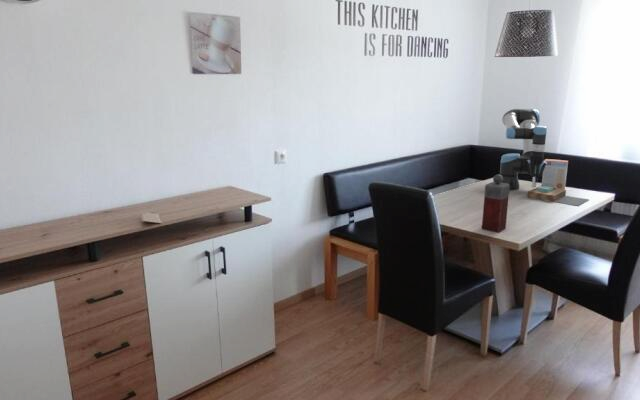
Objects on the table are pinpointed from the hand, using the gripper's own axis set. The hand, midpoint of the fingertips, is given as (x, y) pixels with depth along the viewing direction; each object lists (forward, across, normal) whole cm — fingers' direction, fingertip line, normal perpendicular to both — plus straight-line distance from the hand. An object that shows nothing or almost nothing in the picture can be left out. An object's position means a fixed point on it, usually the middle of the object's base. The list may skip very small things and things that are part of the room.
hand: (533, 187), depth 308 cm
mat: (+5, +24, 0) cm, 24 cm away
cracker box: (+5, +6, +19) cm, 21 cm away
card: (+1, +8, 0) cm, 8 cm away
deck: (+5, +8, 0) cm, 10 cm away
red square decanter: (+6, +14, -84) cm, 85 cm away
